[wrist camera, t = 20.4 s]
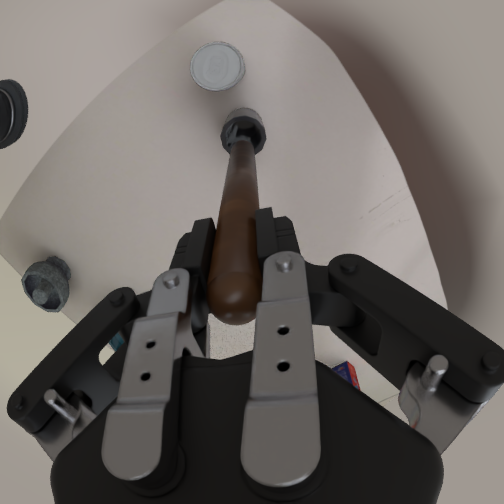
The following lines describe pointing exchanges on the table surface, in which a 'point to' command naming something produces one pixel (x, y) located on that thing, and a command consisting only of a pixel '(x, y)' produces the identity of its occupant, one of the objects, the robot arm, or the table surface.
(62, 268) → the mortar and pestle
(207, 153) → the table surface
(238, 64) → the beverage can
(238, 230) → the stick
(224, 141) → the crock
